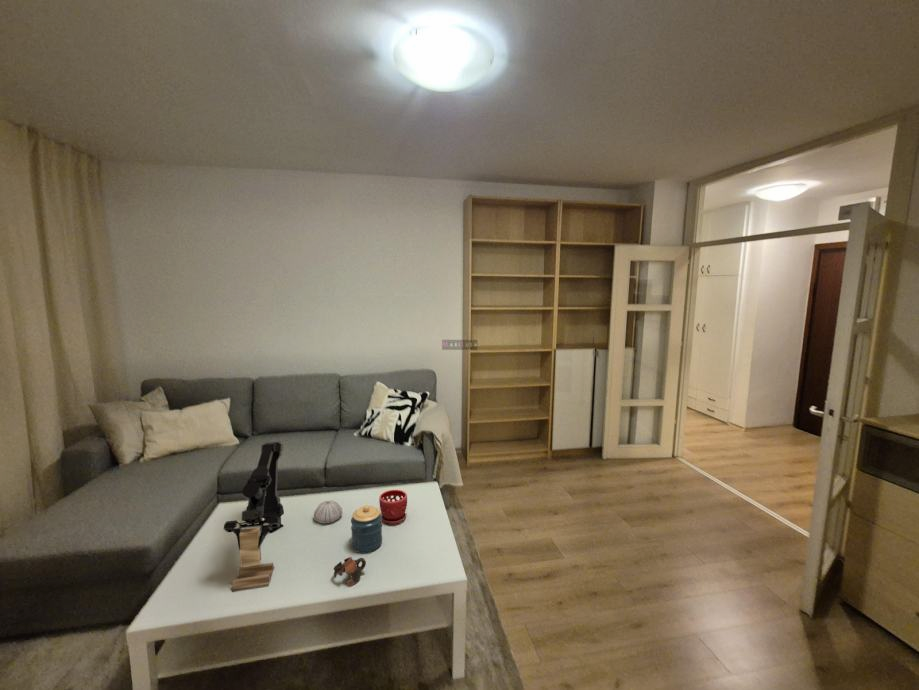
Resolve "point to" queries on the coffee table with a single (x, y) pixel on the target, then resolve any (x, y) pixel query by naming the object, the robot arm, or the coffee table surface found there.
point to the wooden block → (250, 547)
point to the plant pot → (393, 506)
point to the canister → (366, 529)
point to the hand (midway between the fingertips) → (249, 548)
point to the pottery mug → (350, 569)
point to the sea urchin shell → (327, 512)
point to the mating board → (253, 577)
